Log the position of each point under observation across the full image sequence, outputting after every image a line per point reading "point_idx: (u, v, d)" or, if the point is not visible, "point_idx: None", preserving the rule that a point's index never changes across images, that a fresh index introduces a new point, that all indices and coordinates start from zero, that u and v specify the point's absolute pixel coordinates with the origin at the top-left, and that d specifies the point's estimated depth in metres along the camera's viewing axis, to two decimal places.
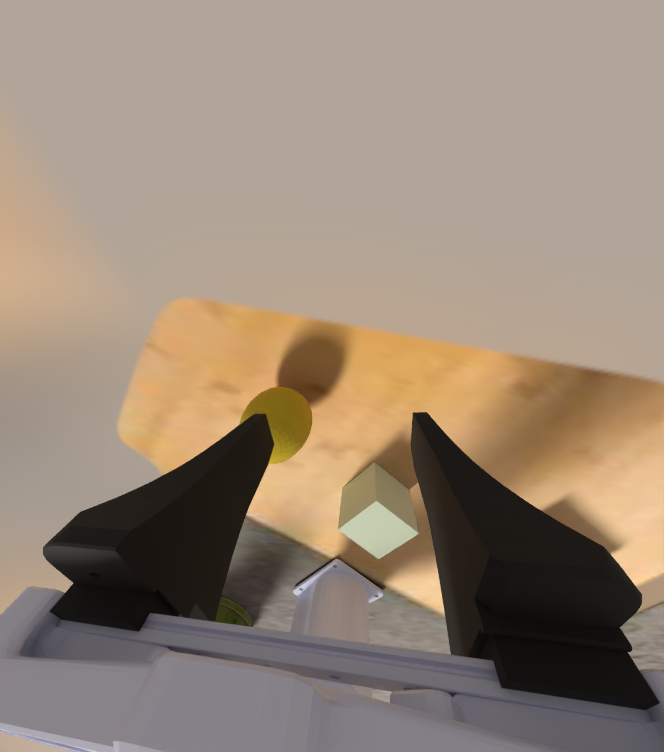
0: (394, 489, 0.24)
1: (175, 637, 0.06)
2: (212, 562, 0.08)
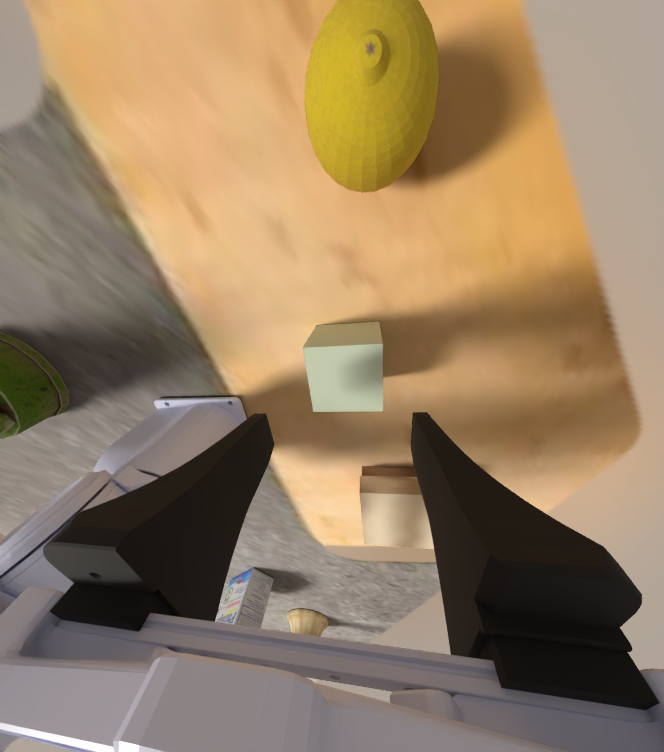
0: None
1: (175, 637, 0.06)
2: (212, 562, 0.08)
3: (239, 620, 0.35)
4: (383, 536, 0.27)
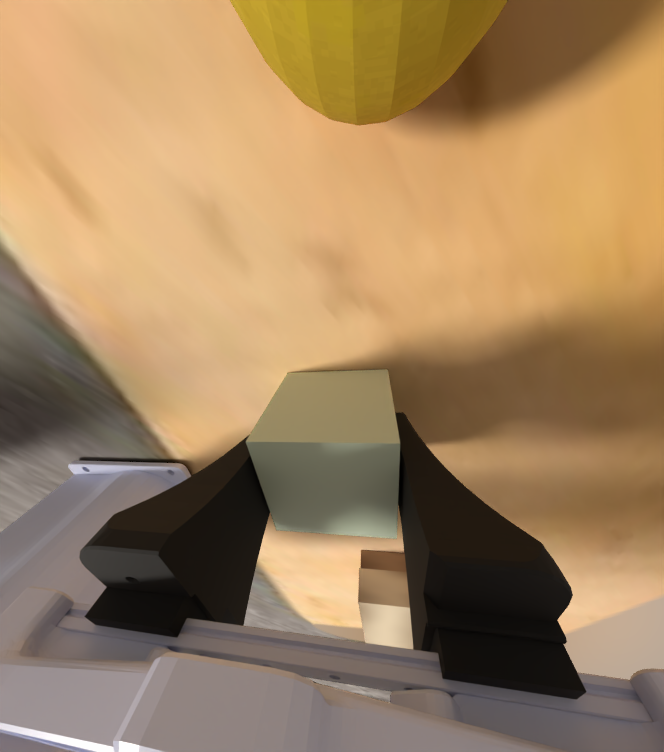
0: None
1: (175, 637, 0.06)
2: (240, 565, 0.08)
3: None
4: (392, 645, 0.20)
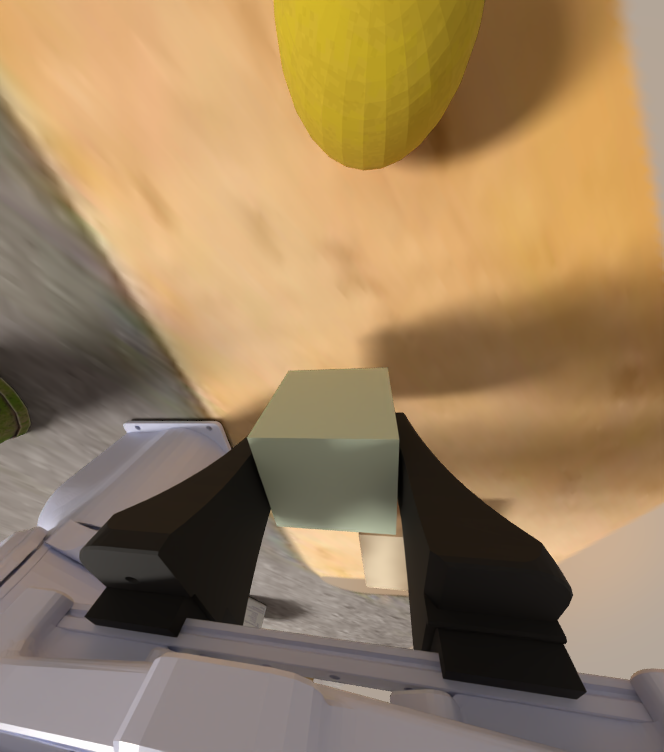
0: None
1: (175, 637, 0.06)
2: (240, 565, 0.08)
3: None
4: (388, 579, 0.23)
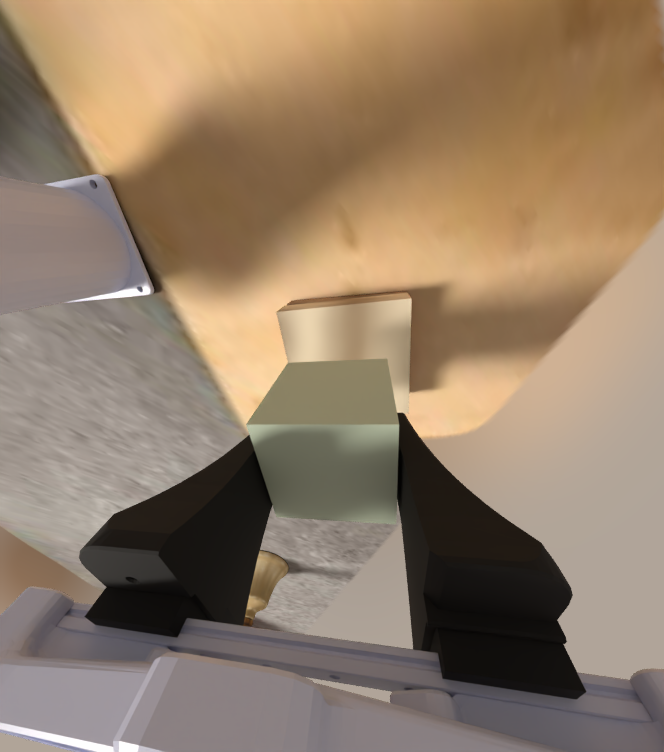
0: None
1: (175, 637, 0.06)
2: (240, 565, 0.08)
3: None
4: None
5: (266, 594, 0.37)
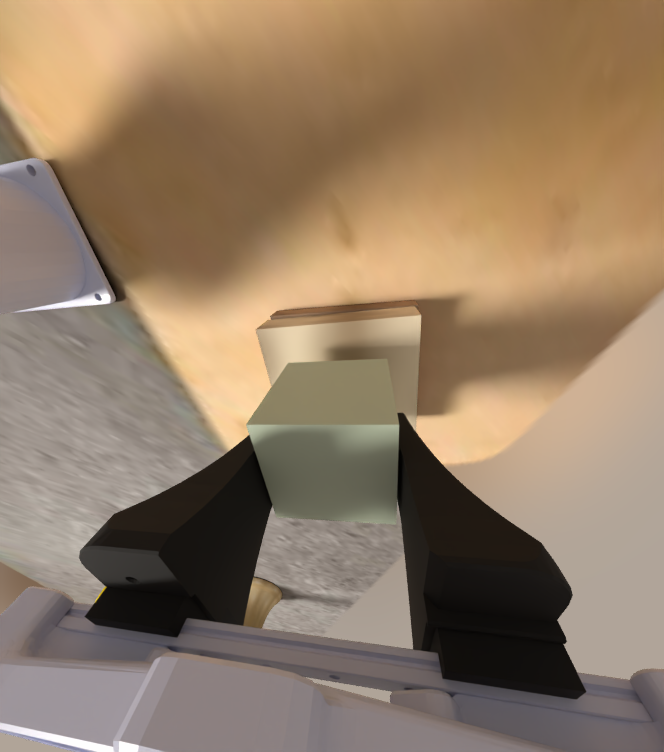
0: None
1: (175, 637, 0.06)
2: (240, 565, 0.08)
3: None
4: None
5: (257, 626, 0.34)
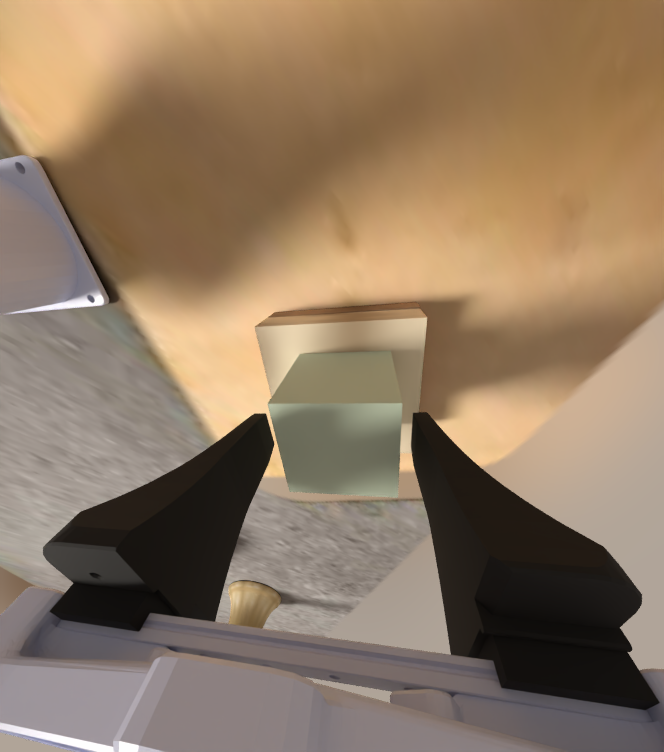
0: None
1: (175, 637, 0.06)
2: (212, 562, 0.08)
3: None
4: None
5: None
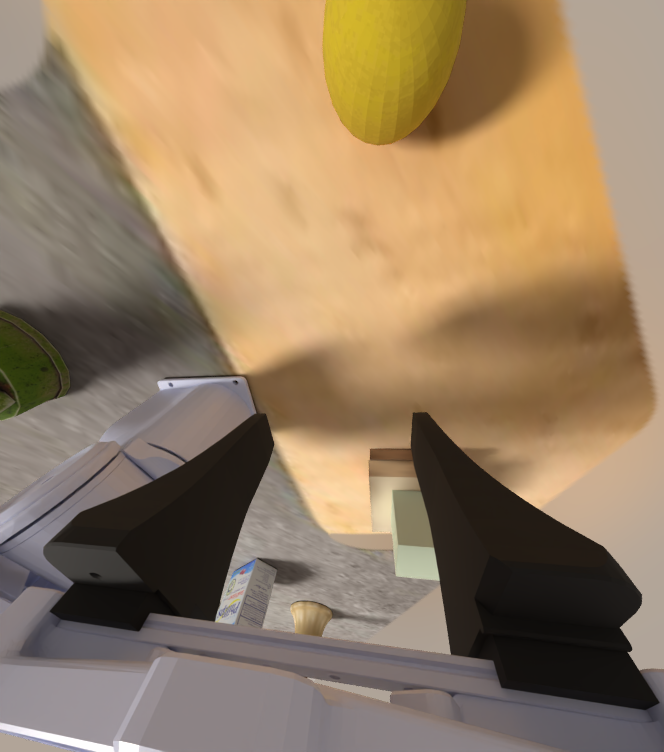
0: None
1: (175, 637, 0.06)
2: (212, 562, 0.08)
3: (243, 610, 0.35)
4: None
5: None
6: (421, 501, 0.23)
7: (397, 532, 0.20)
